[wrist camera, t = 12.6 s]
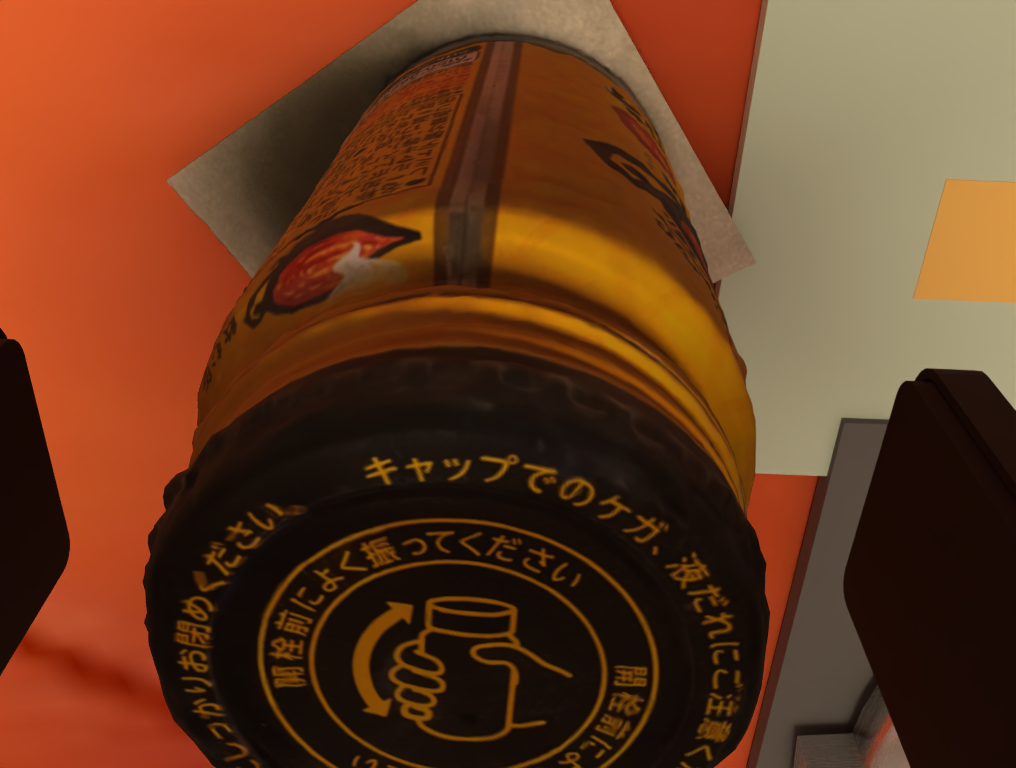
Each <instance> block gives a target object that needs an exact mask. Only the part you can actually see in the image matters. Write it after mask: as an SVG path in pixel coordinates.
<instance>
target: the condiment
mask: <svg viewBox="0 0 1016 768" xmlns="http://www.w3.org/2000/svg"><path fill="white" fill-rule="evenodd" d="M166 181H167V182H168V184H169V185H170V186H171V187H172V188H173V189H174V190H175V191H176V192H177V193H178V195H179V196H180V197H181V198H182V199H183V200H184V202H185V203H186V204H187V205H188V207H189V208H190V209H191V210H192V211H193V212H194V213H195V214H196V215H197V216H198V217H200V218H201V219H202V220H203V221H204V222H205V223H206V224H207V225H208V227H209V228H210V229H211V231H212V232H213V233H214V234H215V236H216V237H217V238H218V239H219V240H220V241H221V243H222V244H223V245H224V246H225V247H226V248H227V249H228V250H229V252H230V253H231V254H232V255H233V256H234V257H235V258H236V260H237V261H238V262H239V264H240V265H241V266H242V267H243V269H244V270H245V271H246V272H247V273H248V274H249V275H250V277H251V278H252V281H251V282H250V284H249V285H248V286H247V287H246V288H245V290H244V292H243V294H242V295H241V297H240V298H239V299H238V300H237V302H236V304H235V306H234V308H233V309H232V311H231V312H230V313H229V315H228V316H227V318H226V320H225V322H224V324H223V326H222V329H221V331H220V334H219V336H218V338H217V340H216V342H215V344H214V347H213V350H212V353H211V356H210V358H209V361H208V364H207V366H206V369H205V372H204V376H203V379H202V382H201V385H200V388H199V392H198V421H197V426H198V427H197V428H196V430H195V432H194V437H193V442H192V444H193V453H192V456H191V459H190V464H189V468H188V469H187V470H185V471H183V472H181V473H178V474H176V476H175V477H174V478H173V479H172V480H171V481H170V482H169V483H168V484H167V486H166V487H165V489H164V495H163V499H164V506H165V509H166V512H165V513H164V514H163V515H162V516H161V518H160V519H159V520H158V521H157V523H156V524H155V525H154V528H153V530H152V531H151V532H150V533H149V535H148V546H149V550H150V554H151V555H150V559H149V562H148V563H147V564H146V566H145V575H144V579H143V585H144V589H145V593H146V607H147V615H146V618H145V622H144V623H145V626H146V628H147V631H148V640H149V647H150V650H151V653H152V657H153V660H154V663H155V667H156V669H157V672H158V675H159V679H160V683H161V687H162V691H163V695H164V698H165V701H166V703H167V706H168V708H169V710H170V712H171V715H172V717H173V719H174V721H175V722H176V723H177V724H178V725H179V726H180V727H181V728H182V730H183V731H184V732H185V733H186V734H187V735H188V736H189V737H190V738H191V739H192V740H193V741H194V742H195V744H196V745H197V746H198V748H199V749H200V750H201V751H202V753H203V754H204V755H205V756H206V757H207V758H208V760H209V761H210V763H211V764H212V765H213V766H214V767H216V768H714V767H715V766H716V765H717V764H719V763H720V762H721V761H722V760H723V759H725V758H726V757H727V756H728V755H729V754H731V753H732V752H733V751H734V750H735V749H736V747H737V746H738V744H739V743H740V741H741V740H742V738H743V736H744V734H745V733H746V731H747V729H748V726H749V724H750V721H751V719H752V716H753V713H754V710H755V707H756V704H757V701H758V697H759V694H760V690H761V686H762V678H763V671H764V661H765V651H766V644H767V638H768V628H769V617H770V611H769V607H768V603H767V599H766V596H765V571H766V562H765V559H764V557H763V555H762V553H761V550H760V546H759V541H758V538H757V535H756V532H755V530H754V528H753V527H752V526H751V524H750V523H749V521H748V520H747V508H748V505H749V499H750V494H751V489H752V485H753V481H754V477H755V469H756V419H755V416H754V412H753V405H752V402H751V399H750V397H749V394H748V391H747V389H746V376H747V367H746V364H745V362H744V360H743V359H742V357H741V356H740V355H739V354H738V352H737V349H736V347H735V345H734V342H733V340H732V337H731V335H730V333H729V329H728V325H727V321H726V318H725V316H724V311H723V310H722V308H721V305H720V303H719V300H718V298H717V295H716V292H715V290H714V287H713V283H715V282H717V281H719V280H721V279H723V278H725V277H727V276H729V275H731V274H733V273H735V272H737V271H739V270H741V269H744V268H746V267H749V266H752V265H754V264H756V261H755V259H754V257H753V256H752V254H751V252H750V250H749V248H748V247H747V245H746V243H745V241H744V240H743V238H742V236H741V234H740V232H739V231H738V229H737V227H736V225H735V223H734V222H733V220H732V218H731V216H730V215H729V213H728V210H727V208H726V207H725V205H724V204H723V202H722V200H721V198H720V197H719V195H718V193H717V191H716V190H715V188H714V186H713V184H712V182H711V181H710V179H709V177H708V175H707V174H706V172H705V170H704V168H703V166H702V165H701V163H700V161H699V159H698V157H697V156H696V154H695V152H694V150H693V149H692V147H691V145H690V143H689V141H688V140H687V138H686V136H685V134H684V132H683V131H682V129H681V127H680V125H679V123H678V122H677V120H676V118H675V116H674V115H673V113H672V111H671V109H670V108H669V106H668V104H667V102H666V101H665V99H664V97H663V95H662V93H661V92H660V90H659V88H658V86H657V85H656V83H655V81H654V79H653V77H652V76H651V74H650V72H649V70H648V69H647V67H646V65H645V63H644V62H643V60H642V58H641V56H640V54H639V53H638V51H637V49H636V47H635V45H634V44H633V42H632V40H631V38H630V37H629V35H628V33H627V31H626V29H625V28H624V26H623V24H622V22H621V21H620V19H619V17H618V15H617V14H616V12H615V10H614V8H613V6H612V4H611V2H610V0H418V1H417V2H415V3H414V4H413V5H411V6H410V7H408V8H407V9H405V10H404V11H402V12H401V13H400V14H398V15H397V16H396V17H394V18H393V19H392V20H390V21H389V22H388V23H386V24H385V25H383V26H382V27H380V28H379V29H378V30H376V31H375V32H373V33H372V34H371V35H369V36H368V37H366V38H365V39H364V40H362V41H361V42H359V43H358V44H357V45H355V46H354V47H352V48H351V49H350V50H348V51H347V52H345V53H343V54H342V55H341V56H339V57H338V58H337V59H336V60H334V61H333V62H331V63H330V64H329V65H327V66H326V67H325V68H323V69H322V70H320V71H319V72H318V73H316V74H315V75H314V76H312V77H311V78H309V79H308V80H307V81H305V82H304V83H303V84H302V85H300V86H299V87H297V88H295V89H294V90H292V91H291V92H289V93H288V94H287V95H285V96H284V97H282V98H281V99H280V100H278V101H277V102H275V103H274V104H272V105H271V106H269V107H268V108H267V109H266V110H264V111H263V112H261V113H260V114H258V115H257V116H256V117H254V118H253V119H251V120H249V121H248V122H246V123H245V124H244V125H243V126H241V127H240V128H239V129H237V130H236V131H235V132H233V133H232V134H230V135H229V136H228V137H226V138H225V139H224V140H222V141H221V142H220V143H218V144H217V145H216V146H214V147H213V148H211V149H210V150H209V151H207V152H206V153H204V154H203V155H201V156H200V157H198V158H197V159H196V160H194V161H193V162H191V163H190V164H189V165H187V166H186V167H184V168H183V169H182V170H180V171H179V172H177V173H176V174H175V175H173V176H172V177H170V178H169V179H168V180H166Z"/></svg>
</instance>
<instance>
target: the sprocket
mask: <svg viewBox="0 0 1016 768" xmlns="http://www.w3.org/2000/svg"><path fill="white" fill-rule="evenodd" d="M793 768H910V765H909V763H908V760H907V758H906V755H905V753H904V750H903V748H902V745H901V743H900V740H899V738H898V735H897V733H896V730H895V727H894V725H893V722H892V720H891V717H890V715H889V712H888V710H887V707H886V705H885V702H884V700H883V697H882V695H881V692H880V690H879V687H878V685H877V687H876V688H875V690H874V692H873V693H872V695H871V696H870V698H869V699H868V701H867V702H866V704H865V706H864V707H863V709H862V711H861V714H860V716H859V718H858V720H857V723H856V725H855V727H854V729H853V732H852V733H851V734H828V735H805V736H797V742H796V750H795V759H794V767H793Z"/></svg>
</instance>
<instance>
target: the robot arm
mask: <svg viewBox="0 0 1016 768" xmlns="http://www.w3.org/2000/svg"><path fill="white" fill-rule="evenodd" d="M69 550H70V539H69V533H68V529H67V525H66V521H65V517H64V513H63V509H62V505H61V501H60V497H59V492H58V488H57V484H56V480H55V476H54V472H53V468H52V464H51V460H50V456H49V452H48V448H47V444H46V440H45V436H44V432H43V428H42V424H41V420H40V415H39V411H38V407H37V403H36V399H35V395H34V391H33V387H32V383H31V379H30V375H29V371H28V367H27V363H26V359H25V355H24V352H23V349H22V347H21V345H20V344H19V343H18V342H17V341H16V340H14V339H7V337H6V335H5V333H4V332H3V331H2V329H1V328H0V675H1V674H2V672H3V670H4V669H5V667H6V665H7V664H8V662H9V660H10V659H11V657H12V655H13V654H14V652H15V650H16V649H17V647H18V645H19V644H20V642H21V641H22V639H23V637H24V636H25V634H26V632H27V631H28V629H29V627H30V626H31V624H32V622H33V621H34V619H35V617H36V616H37V614H38V612H39V611H40V609H41V607H42V606H43V604H44V602H45V601H46V599H47V597H48V596H49V594H50V593H51V591H52V589H53V588H54V586H55V584H56V583H57V581H58V579H59V578H60V576H61V574H62V573H63V571H64V569H65V567H66V564H67V561H68V557H69ZM843 592H844V599H845V603H846V606H847V609H848V611H849V614H850V616H851V619H852V621H853V624H854V626H855V629H856V631H857V634H858V636H859V639H860V642H861V644H862V647H863V649H864V652H865V654H866V657H867V659H868V662H869V664H870V667H871V669H872V672H873V674H874V677H875V679H876V682H877V685H878V687H879V690H880V692H881V695H882V697H883V700H884V702H885V705H886V707H887V710H888V712H889V715H890V717H891V720H892V722H893V725H894V727H895V730H896V733H897V735H898V738H899V740H900V743H901V745H902V748H903V750H904V753H905V755H906V758H907V760H908V763H909V765H910V768H1016V410H1015V409H1014V408H1013V407H1012V405H1011V404H1010V403H1009V402H1008V400H1007V399H1006V398H1005V397H1004V395H1003V394H1002V393H1001V392H1000V390H999V389H998V388H997V387H996V385H995V384H994V383H993V382H992V380H991V379H990V378H989V377H988V375H986V374H985V373H984V372H983V371H977V370H957V369H935V368H926V369H924V370H922V371H921V372H920V373H919V374H918V376H917V377H916V379H915V381H905V382H903V383H902V384H901V386H900V387H899V389H898V392H897V394H896V397H895V401H894V404H893V408H892V411H891V415H890V418H889V421H888V425H887V428H886V432H885V435H884V438H883V442H882V445H881V449H880V452H879V455H878V459H877V462H876V466H875V469H874V472H873V476H872V479H871V483H870V486H869V489H868V493H867V496H866V500H865V503H864V506H863V510H862V513H861V517H860V520H859V523H858V527H857V530H856V534H855V537H854V540H853V544H852V547H851V551H850V554H849V557H848V561H847V564H846V568H845V572H844V579H843Z"/></svg>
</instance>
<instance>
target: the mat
mask: <svg viewBox="0 0 1016 768" xmlns="http://www.w3.org/2000/svg"><path fill="white" fill-rule="evenodd" d="M728 213H729V215H730V216H731V218H732V220H733V222H734V223H735V225H736V227H737V229H738V231H739V232H740V234H741V236H742V238H743V240H744V241H745V243H746V245H747V247H748V248H749V250H750V252H751V254H752V256H753V257H754V259H755V261H756V264H754V265H752V266H749V267H746V268H744V269H741V270H739V271H737V272H735V273H733V274H731V275H729V276H727V277H725V278H723V279H721V280H719V281H717V282H716V286H715V292H716V295H717V298H718V300H719V303H720V305H721V308H722V310H723V311H724V316H725V318H726V321H727V325H728V329H729V333H730V335H731V337H732V340H733V342H734V345H735V347H736V349H737V352H738V354H739V355H740V356H741V357H742V359H743V360H744V362H745V364H746V367H747V376H746V389H747V391H748V394H749V397H750V399H751V402H752V405H753V412H754V416H755V419H756V469H755V473H758V474H784V475H811V476H827V474H828V470H829V466H830V462H831V458H832V454H833V450H834V446H835V442H836V438H837V434H838V430H839V427H840V423H841V419H842V418H860V419H886V420H889V418H890V415H891V411H892V408H893V404H894V401H895V397H896V394H897V392H898V389H899V387H900V386H901V384H902V383H903V382H905V381H915V379H916V377H917V376H918V374H919V373H920V372H921V371H922V370H924V369H926V368H935V369H957V370H977V371H983V372H984V373H985V374H986V375H988V377H989V378H990V379H991V380H992V382H993V383H994V384H995V385H996V387H997V388H998V389H999V390H1000V392H1001V393H1002V394H1003V395H1004V397H1005V398H1006V399H1007V400H1008V402H1009V403H1010V404H1011V405H1012V407H1013V408H1014V409H1015V410H1016V0H762V6H761V12H760V18H759V24H758V30H757V36H756V43H755V49H754V55H753V61H752V67H751V73H750V79H749V85H748V91H747V97H746V104H745V110H744V116H743V122H742V128H741V134H740V140H739V146H738V152H737V158H736V164H735V171H734V177H733V183H732V189H731V195H730V201H729V207H728Z"/></svg>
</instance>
